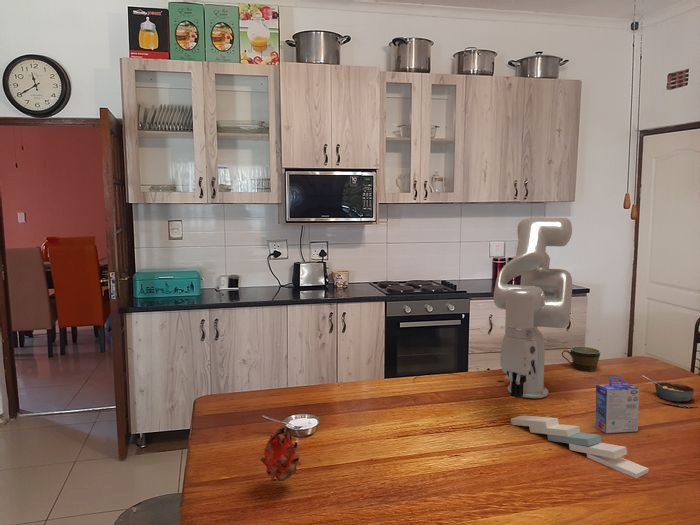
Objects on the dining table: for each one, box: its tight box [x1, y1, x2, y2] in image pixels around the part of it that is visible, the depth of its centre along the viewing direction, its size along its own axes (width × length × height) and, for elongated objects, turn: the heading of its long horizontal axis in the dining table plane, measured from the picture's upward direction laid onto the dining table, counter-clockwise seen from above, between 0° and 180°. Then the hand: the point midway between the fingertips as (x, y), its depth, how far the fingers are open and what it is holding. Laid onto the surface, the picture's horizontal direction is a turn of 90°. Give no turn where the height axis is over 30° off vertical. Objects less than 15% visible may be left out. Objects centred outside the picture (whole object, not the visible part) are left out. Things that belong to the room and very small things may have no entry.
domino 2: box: [528, 423, 581, 437], centre depth 135 cm, size 2×5×12 cm
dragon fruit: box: [260, 427, 302, 482], centre depth 112 cm, size 8×8×12 cm
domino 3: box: [546, 432, 602, 446], centre depth 130 cm, size 2×5×12 cm
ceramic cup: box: [561, 346, 601, 373], centre depth 189 cm, size 13×10×10 cm
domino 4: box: [568, 441, 628, 459], centre depth 125 cm, size 2×5×12 cm
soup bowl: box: [641, 375, 695, 409], centre depth 162 cm, size 15×16×7 cm
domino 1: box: [510, 414, 560, 428], centre depth 141 cm, size 2×5×12 cm
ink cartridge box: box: [595, 375, 640, 434], centre depth 141 cm, size 10×6×14 cm, turn 98°
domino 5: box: [586, 453, 650, 479], centre depth 121 cm, size 2×5×12 cm
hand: (516, 396), depth 145 cm, fingers closed
